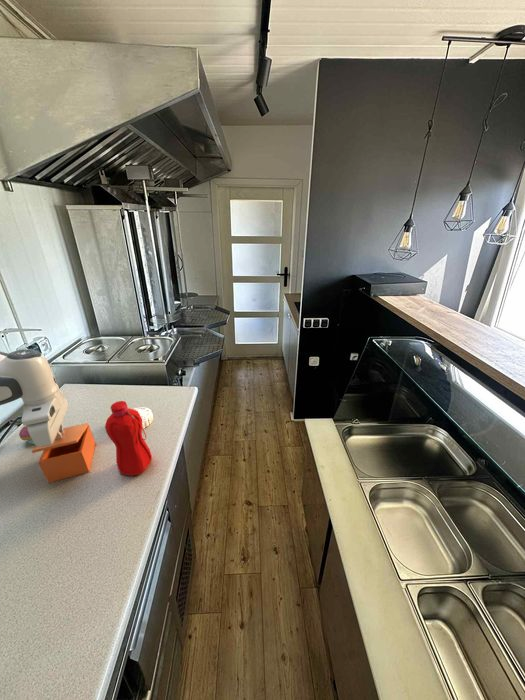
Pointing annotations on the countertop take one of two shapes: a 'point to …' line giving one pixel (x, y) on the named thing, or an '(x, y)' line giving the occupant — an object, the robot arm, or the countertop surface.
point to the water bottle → (128, 439)
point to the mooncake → (145, 416)
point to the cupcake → (25, 435)
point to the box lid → (66, 437)
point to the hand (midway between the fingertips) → (60, 436)
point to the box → (68, 458)
